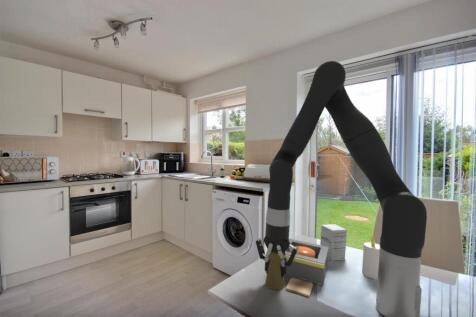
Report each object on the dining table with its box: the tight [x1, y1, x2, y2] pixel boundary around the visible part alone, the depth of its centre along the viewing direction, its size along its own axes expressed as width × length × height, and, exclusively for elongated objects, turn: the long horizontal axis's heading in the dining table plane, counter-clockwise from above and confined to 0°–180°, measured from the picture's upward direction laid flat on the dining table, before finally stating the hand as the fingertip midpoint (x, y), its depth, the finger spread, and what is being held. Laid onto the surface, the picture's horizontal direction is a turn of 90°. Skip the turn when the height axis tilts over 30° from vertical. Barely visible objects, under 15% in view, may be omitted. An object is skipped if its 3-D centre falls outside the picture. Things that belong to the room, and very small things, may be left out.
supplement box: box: [319, 223, 348, 262], centre depth 96 cm, size 7×7×13 cm
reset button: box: [296, 246, 315, 258], centre depth 85 cm, size 8×8×3 cm
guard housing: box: [285, 238, 329, 286], centre depth 85 cm, size 16×17×7 cm
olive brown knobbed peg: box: [264, 252, 285, 291], centre depth 73 cm, size 6×6×11 cm
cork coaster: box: [285, 276, 314, 298], centre depth 72 cm, size 7×7×1 cm
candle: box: [361, 233, 380, 280], centre depth 83 cm, size 6×6×15 cm
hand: (274, 274), depth 73 cm, fingers closed on olive brown knobbed peg, 4 cm apart
